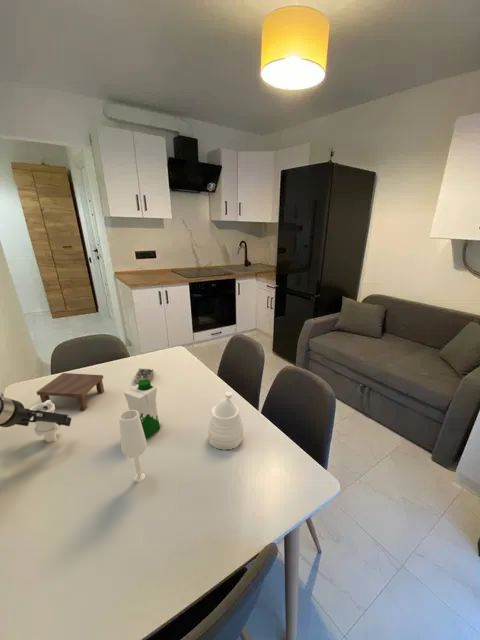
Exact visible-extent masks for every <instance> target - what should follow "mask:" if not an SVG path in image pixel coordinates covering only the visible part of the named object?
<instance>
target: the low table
mask: <svg viewBox="0 0 480 640" xmlns="http://www.w3.org/2000/svg"><path fill="white" fill-rule="evenodd" d="M103 379H104V375H103V374H88V373H72V372H71V373H70V372H69V373H68V372H62V373H61V374H59V375H57V376H56V378H54V379H52V380H51V381H50V382H48V383H47V384H45V385H44V386H43V387H41V388H39V390H37V391H36V395H37V396H39V397H40V401H41V403H44V402H46V401H47V400H51V399H50V397H62V398H63V397H64V398H76V399H77V404H78V409H79V411H86V410H87V409H88V407H89V406H88V403H87V400H86V394H88V393H89V392H90V391H91V390H92V389H93V388H94V387H95V388H96V392H97V394H103V393H104V392H105V387H104V383H103ZM42 408H43V409H48V407H47V406H43V407H42Z"/></svg>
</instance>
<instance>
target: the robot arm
mask: <svg viewBox="0 0 480 640" xmlns="http://www.w3.org/2000/svg"><path fill="white" fill-rule="evenodd" d="M29 409H30V408H25V406H24V404H23V403H22V402H21V401H19V400H15V399H11V398H9V397H6V396H2V395H0V427H1V428H11V427H13V426H15V425H16V426H23V427H29V425H30V423H35V422H36V421H41V422H52V423H56V424H57V425H59V426H60V427H61V426H66V427H70V426H71V422H72V417H69V415H68V414H67V413H66V414H65V413H57V412H53V413H51V412H45V410H44V411H43V410H42V411H41V409H36V411H35V410H29Z"/></svg>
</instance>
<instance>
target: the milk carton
mask: <svg viewBox="0 0 480 640" xmlns="http://www.w3.org/2000/svg"><path fill="white" fill-rule="evenodd" d="M157 389H158V388H157V387H156V386H153V385H152V382H151V383H150V380H141V381H139V382H138V384H136V385H134V386H132V387H129V389H127V390H126V391H124V392H123V395H124V396H125V401H126V403H127V406H128V410H136V411H138V413H139V417H140V420H141V424H142V427H143V431H144V434H145V438H146V440H148V439H149V438H150V437H151V436H153V435H154V434H155V433H157V432H158V431H159V430H161V426H160V425H161V424H160V421H159V415H158V407H157V405H158V404H157Z"/></svg>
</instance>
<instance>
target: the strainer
mask: <svg viewBox="0 0 480 640" xmlns="http://www.w3.org/2000/svg"><path fill="white" fill-rule="evenodd" d="M43 406H47V407H48V408H46V409H45V410H43V409H40V408H44V407H43ZM55 406H56V405H55V403H53V402H52V399H50V400H47V401H46V402H44V403H42V402H41V403H38V404H36V405H33V406H31V408H28V409H29V410H35V411H36V410H38V409H40V411H45V412H51V413H54V412H55V410H56V407H55ZM34 425H35V427H34V429H33V431H34V434H35V435H37V436H39V437H40V436H41V437H44V439H45V442H47V443H50V442H57V441H58V438H57V435H56V431H58V430H59V429H60V428H61V425H60V426H59V425H58V424H56V423H52V422H41V421H36V422H34Z"/></svg>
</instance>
